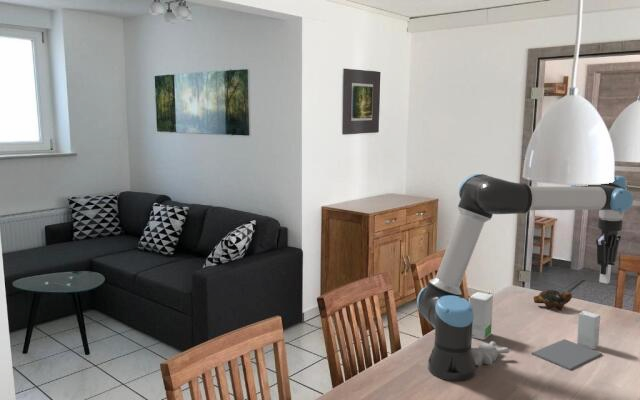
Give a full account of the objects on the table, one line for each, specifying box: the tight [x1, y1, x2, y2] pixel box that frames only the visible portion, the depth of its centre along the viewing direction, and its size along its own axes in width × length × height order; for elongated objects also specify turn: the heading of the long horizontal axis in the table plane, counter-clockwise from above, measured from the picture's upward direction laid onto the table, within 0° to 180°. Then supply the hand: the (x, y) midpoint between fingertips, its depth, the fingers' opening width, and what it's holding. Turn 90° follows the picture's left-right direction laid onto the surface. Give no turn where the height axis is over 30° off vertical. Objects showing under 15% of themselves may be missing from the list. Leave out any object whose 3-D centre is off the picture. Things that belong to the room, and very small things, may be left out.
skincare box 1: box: [469, 291, 494, 341], centre depth 201 cm, size 8×7×16 cm
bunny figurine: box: [471, 340, 510, 367], centre depth 181 cm, size 10×5×15 cm
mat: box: [531, 338, 603, 371], centre depth 186 cm, size 20×14×1 cm
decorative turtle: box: [532, 289, 573, 312], centre depth 230 cm, size 10×15×8 cm, turn 77°
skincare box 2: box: [576, 310, 601, 350], centre depth 192 cm, size 6×4×12 cm
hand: (604, 282), depth 194 cm, fingers closed
